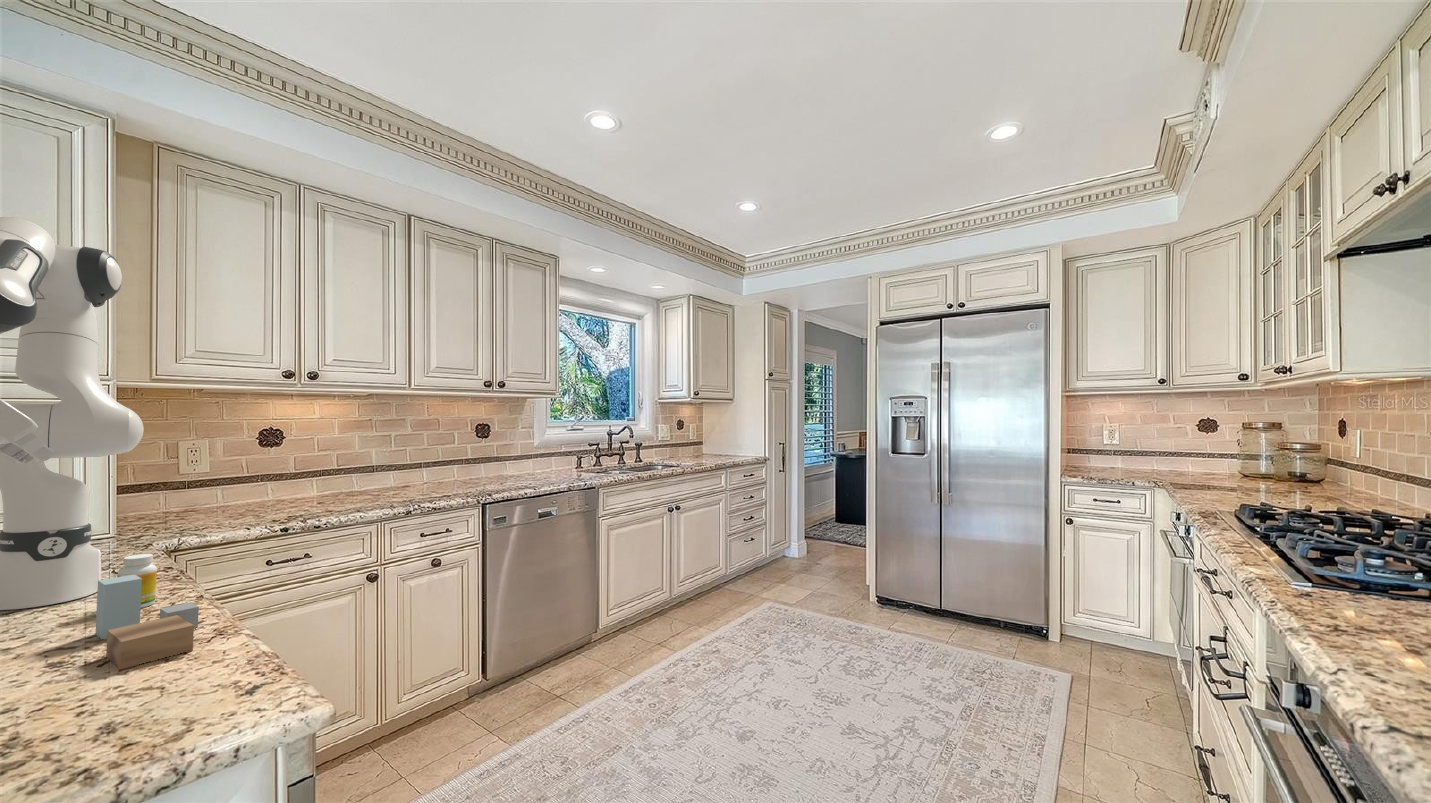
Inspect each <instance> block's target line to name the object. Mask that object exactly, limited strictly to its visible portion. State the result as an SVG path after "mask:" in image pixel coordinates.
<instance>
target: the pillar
mask: <svg viewBox="0 0 1431 803" xmlns="http://www.w3.org/2000/svg"><path fill="white" fill-rule="evenodd" d="M141 587H142V578H140V577H138V576H136V575H129V576H122V577H111V578H106V579H101V580H98V590H97V592H96V593H97V595H96V615H95V616H96V617H95V635H96V636H97V637H98V638H99V637H100V640H102V639H104V640H107V630H110V629H115V628H120V627H124V626H129V625H134V624H138V623H141V609H142V608H141Z"/></svg>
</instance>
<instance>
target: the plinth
mask: <svg viewBox="0 0 1431 803" xmlns="http://www.w3.org/2000/svg"><path fill="white" fill-rule="evenodd" d="M194 632H195V630H194V625H193V624H191V623H189V622H188V621H186V620H184V619H183V618H181V617H179V616H178V615H176V616H171V617H167V618H162V619H160V618H158V619H152V620H148V621H144V622H140V623H138V624H134V625H129V626H124V627H120V628H115V629H110V630H107V639H106V652H105V654H106V655H105V657H106V658H107V659H108V660H109V661H110V662H112V664H113V665H115V666H116V667H117V668H118V669H119V670H124V669H127V668H132V667H134V666H135V667H136V666H139V664H140V665H143V664H142V663H144V664H146V662H148V661H151V662H154V661H159V660H162V659H161V658H163V659H166V658H165V657H167V658H170V657H169V656H171V657H174V656H173V655H175V656H178V655H177V654H179V655H181V654H180V653H182V654H184V653H183V652H186V653H190V652H193V651H194ZM158 659H159V660H158ZM148 663H149V662H148Z"/></svg>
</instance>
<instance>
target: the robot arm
mask: <svg viewBox="0 0 1431 803" xmlns="http://www.w3.org/2000/svg"><path fill="white" fill-rule="evenodd" d="M122 280H123V274H122V269H121V267H120V266H119V263H118V261H117V260H116V258H115V257H114V256H113V255H112V254H111V253H110V252H108V251H105V250H103V249H99V248H95V247H87V246H82V247H77V246H71V245H61V244H56V243H55V241H54V238H53V237H52V236H51V234H50V233H49V232H48V231H47V230H46V229H44V228H43V227H42V226H40V225H39V224H36V223H35V222H33V221H30V220H27V219H25V218H20V217H14V216H0V335H1V334H4V333H6V332H10V331H13V330H15V329H18V328H20V329H19V334H18V342H17V350H16V359H15V367H14V372H15V374H16V376H17V377H18V379H19V380H20V381H21V382H23V383H24V384H26V385H28V386H29V387H31V388H33V389H35V390H39V391H42V392H44V393H45V392H46V393H48V394H50V395H53V396H55V397H57V398H58V399H59V400H60V402H57V403H56V402H55V403H19V402H18V403H16V402H14V403H13V402H9V403H8V402H6V401H5V400H3V399H2V398H0V493H1V497H2V498H1V500H2V508H3V509H2V511H3V515H2V516H3V518H2V519H3V521H2V523H3V524H2V530H1V531H0V611H4V610H5V611H8V610H11V611H12V610H19V609H28V608H37V607H43V606H49V605H54V604H59V603H65V602H69V601H73V600H78V599H81V598H84V597H89V596H90V595H93V594H95V593H97V590H98V580H102V559H101V558H102V555H101V554H102V553H101V549H98V548H97V547H95V546H93V545H91V543H90V542H91V540H92V534H93V529H92V524H90V523H89V520H90V519H89V516H90V497H91V496H90V495H91V492H90V489H89V487H88V485H87V484H86V483H84V482H83V481H81V480H80V479H77V478H74V477H71V476H68V475H64V474H61V473H59V472H55V471H54V472H53V471H51V470H50V469H48V468H47V466H46V465H45V462H46V461H49V460H50V459H59V458H60V459H66V458H67V459H68V458H69V459H71V458H72V459H73V458H99V457H100V458H101V457H107V456H114V455H121V454H125V453H130V452H131V451H132V450H134V449H135V448H136V447H137V446H138V445H139V444H140V442H141V440H142V439H143V435H144V431H145V427H144V424H143V423H144V422H143V421H142V419H141V417H140V416H139V414H137V413H136V412H135V411H134V410H132V409H131V408H129V407H126V405H125V406H124V405H123V404H121V403H120V402H118V401H117V400H115V399H114V398H113V397H112V396H111V395H110V394H109V393H108V392H107V391H106V389H105V387H104V385H103V384H102V382H101V379H100V373H99V351H100V349H99V348H100V347H99V346H100V331H99V330H100V329H99V324H98V323H99V322H98V318H97V313H96V310H95V308H99V307H100V308H101V307H102V306H103V305H105V303H106V301H109V300H110V299H112V298H113V297H114V296H116V294H117V293H118V292H119V291H120V290H121V285H122Z"/></svg>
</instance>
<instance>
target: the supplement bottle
mask: <svg viewBox="0 0 1431 803" xmlns="http://www.w3.org/2000/svg"><path fill="white" fill-rule="evenodd" d="M122 561H123V563H122V564H123V566H124V567H122V568H121V569H119V570H118V572H117V577H122V576H129V575H136V576H138V577H140V578H142V587H141V609H143V608H146V607H149V606H152V605H153V604H155V602H156V596H157V594H156V591H157V574H158V567H157V566H156V565H155V564H153V563H152V562H153V561H154V555H153V553H152V554H151V553H140V554H139V553H138V554H133V555H129V556H126V557H125V556H124V557H123V560H122Z"/></svg>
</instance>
